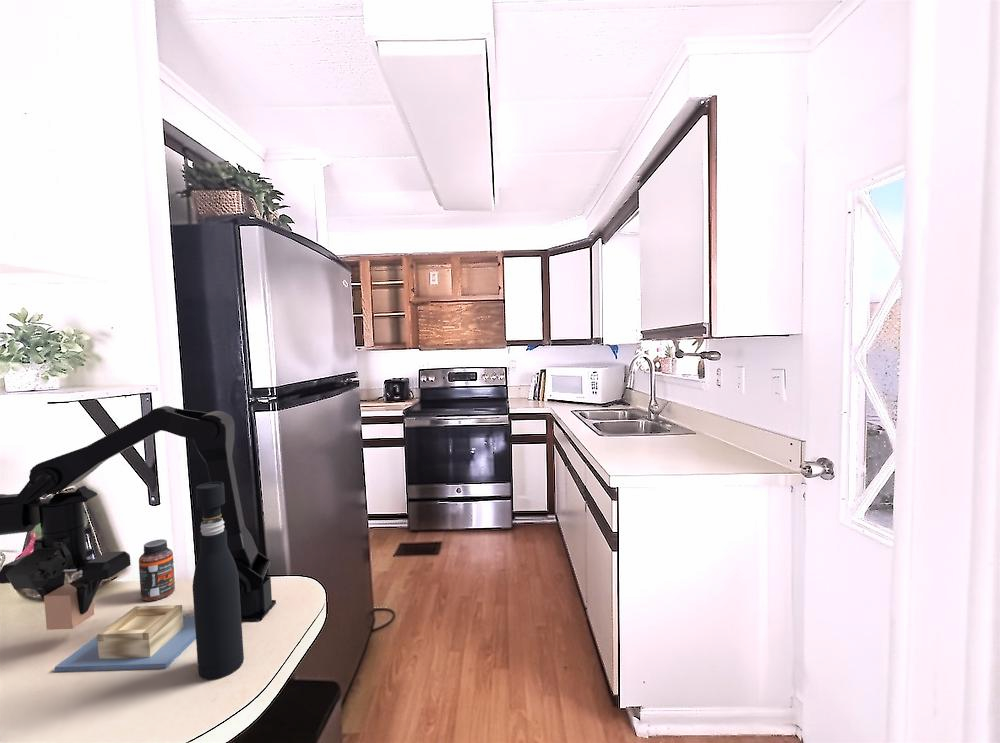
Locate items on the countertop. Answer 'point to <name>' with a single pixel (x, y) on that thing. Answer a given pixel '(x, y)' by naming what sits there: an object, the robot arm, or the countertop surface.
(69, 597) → the terracotta block
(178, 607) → the open wooden box
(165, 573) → the supplement bottle
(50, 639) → the countertop surface
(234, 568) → the black insulated water bottle
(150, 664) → the mat
